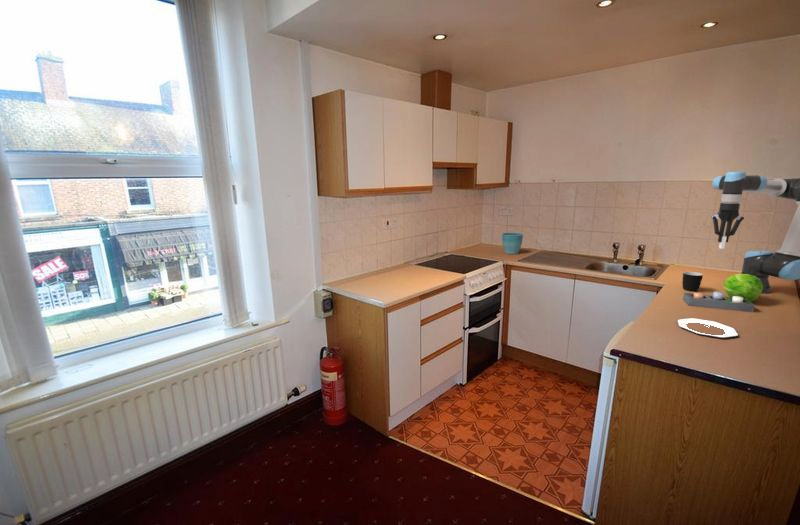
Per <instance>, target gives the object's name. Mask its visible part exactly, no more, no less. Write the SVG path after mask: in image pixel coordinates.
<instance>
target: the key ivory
mask: <svg viewBox="0 0 800 525" xmlns="http://www.w3.org/2000/svg"><path fill="white" fill-rule="evenodd" d="M732 301H737V302H743V297H740V296H733V298H732Z"/></svg>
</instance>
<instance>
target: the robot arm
mask: <svg viewBox="0 0 800 525" xmlns="http://www.w3.org/2000/svg"><path fill="white" fill-rule="evenodd" d="M746 174H747V172H746V171H728V172H726V174H725V175H719V176H716V177H715V178H713V180H712V182H711V185H712V188H713V189H715V190H719V191H722V193H721V199H720V202H721V203H720V204H719V208H718V212H717V214H714V215H712V216H710V218H711V220H712V221H713V222H712V223H713V231H714V234H715V235H717V236H718V239H717V241H718V243H719V245H718V249H721V250H724V249H726V248H725V247H726V243H728V242H729V239H730V237H731V236H735V234H736V232H737V230H738V228H739V226H740V225H741V223H742V221H743V220H744V219H745V217H744V216H741V215H740V212H739V211H740V206H741V204H740V203H741V202H742V201H741V200H742V195H743V192H745V193H754V194H755V193H756V194H765V195H768V196H770V197H774V198H775V197H777V198H781V199H788V200H795V203H796V206H797V209H796V211H795V213H794V216H793V217H792V220H791V223H790V225H789V227H788V231H787V233H786V235H785V238H784V240H783V242H782V245H781V247H780V249H778V250H775V251H770V250H748V251H746V253H745V254H744V257H743V264H742V269H741V273H740V274H749V275H753V276H756V277H757V278H759V279H760V280H761V282H762V285H763V289H762V292H761V294H768V293H771V284H770V280H769V278H770V277H773V278H778V279H782V280H787V281H797V280H799V279H800V177H795V178H794V177H793V178H774V179H767V177H766V176H764V175H759V174H756V175H755V174H754V175H751V174H750V175H749V174H748V175H746ZM719 219H720V225H719V221H718V220H719ZM735 219H736V220H735ZM734 220H735V221H734ZM733 222H734V223H733Z"/></svg>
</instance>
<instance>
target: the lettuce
mask: <svg viewBox="0 0 800 525" xmlns="http://www.w3.org/2000/svg"><path fill="white" fill-rule="evenodd" d="M722 287H723V289H724V291H725V293H726V294H727V296H728V297H733V296H740V297H743V298H746V299H747V300H749V301H750V302H753V301H754V300H756V299H758V298H759V297H761V294H762V293H761V292H762V289H763V285H762V282H761V280H760V279H759V278H757V277H756V276H753V275H749V274H741V273H736V274H732V275H730V276H729V277H727V278H726V279H725V280H724V282H723V286H722Z"/></svg>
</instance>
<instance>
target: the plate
mask: <svg viewBox="0 0 800 525" xmlns="http://www.w3.org/2000/svg"><path fill="white" fill-rule="evenodd" d="M677 323H678V327H680V328H681V329H683V330H684V329H685V330H686V331H690V332H692V333H694V334H697V335H701V336H707V337H713V338H717V339H719V338H720V339H726V338H727V339H728V338H734V337H738V336H739V334H738V333H737V331H736V330H735V328H733V327H730V326H729V325H725V324H722V323H720V322H717V321H713V320H706V319H700V318H694V317H693V318H692V317H691V318H683V319H682V318H681V319H677ZM688 323H700V324H705V325H708V326H709V327H710V325H711V326H714V327H717V328H720V329H723V330H724V332H725V334H723V335H711V334H705V333H700V332H697V331H694V330H692V329H689V328H688V327H687V325H686V324H688ZM705 325H704V326H705ZM708 326H706V327H708ZM709 327H708V328H709Z"/></svg>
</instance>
